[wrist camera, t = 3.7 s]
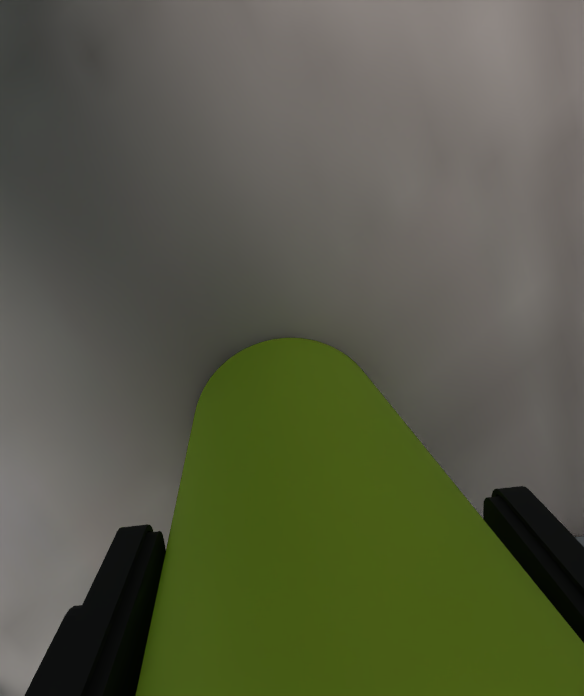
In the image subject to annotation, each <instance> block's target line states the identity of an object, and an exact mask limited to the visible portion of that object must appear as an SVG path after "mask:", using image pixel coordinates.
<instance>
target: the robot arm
mask: <svg viewBox="0 0 584 696" xmlns="http://www.w3.org/2000/svg"><path fill="white" fill-rule="evenodd" d="M483 520H484V521H485V522H486V523H487V525H488V526H489V527H490V528H491V529H492V531H493V532H494V533H495V534H496V536H497V537H498V538H499V539H500V541H501V542H502V543H503V544H504V545H505V547H506V548H507V549H508V550H509V552H510V553H511V554H512V555H513V557H514V558H515V559H516V560H517V561H518V563H519V564H520V565H521V566H522V568H523V569H524V570H525V571H526V573H527V574H528V575H529V576H530V578H531V579H532V580H533V581H534V582H535V584H536V585H537V586H538V587H539V589H540V590H541V591H542V592H543V594H544V595H545V596H546V597H547V598H548V600H549V601H550V602H551V603H552V605H553V606H554V607H555V608H556V610H557V611H558V612H559V613H560V614H561V616H562V617H563V618H564V619H565V621H566V622H567V623H568V624H569V626H570V627H571V628H572V629H573V630H574V632H575V633H576V634H577V635H578V637H579V638H580V639H581V640H582V642H583V643H584V547H583V546H582V544H581V543H580V542H579V541H578V540H577V539H576V538H575V537H574V536H573V535H572V534H571V533H570V532H569V531H568V530H567V529H566V528H565V527H564V526H563V525H562V524H561V523H560V522H559V521H558V519H557V518H556V517H555V516H554V515H553V514H552V513H551V512H550V511H549V510H548V509H547V508H546V507H545V506H544V505H543V504H542V503H541V502H540V501H539V500H538V499H537V498H536V497H535V496H534V495H533V493H532V492H531V491H530V490H529V489H527V488H526V487H523V486H521V487H511V488H501V489H495V490H494V491H493V493H492V497H488V498H486V499H485V500H484V518H483ZM165 553H166V550H165V544H164V538H163V534H162V532H161V531H158V532H153V529H152V527H151V526H150V525H141V526H131V527H122V528H119V530H118V531H117V533H116V535H115V537H114V540H113V542H112V544H111V546H110V548H109V550H108V552H107V554H106V556H105V559H104V561H103V563H102V565H101V567H100V569H99V571H98V573H97V575H96V577H95V580H94V582H93V584H92V586H91V588H90V590H89V592H88V594H87V596H86V599H85V601H84V603H83V605H80V606H74V607H72V608H71V609H69V611H68V612H67V614H66V615H65V617H64V619H63V621H62V623H61V625H60V627H59V629H58V631H57V633H56V634H55V636H54V638H53V640H52V642H51V644H50V646H49V648H48V650H47V652H46V654H45V656H44V658H43V660H42V662H41V664H40V666H39V668H38V670H37V672H36V674H35V676H34V678H33V680H32V682H31V684H30V686H29V688H28V690H27V692H26V694H25V696H136V691H137V686H138V681H139V677H140V672H141V667H142V662H143V658H144V653H145V648H146V643H147V639H148V634H149V629H150V624H151V620H152V615H153V610H154V605H155V601H156V596H157V591H158V586H159V582H160V577H161V572H162V567H163V563H164V558H165Z"/></svg>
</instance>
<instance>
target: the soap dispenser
mask: <svg viewBox="0 0 584 696" xmlns="http://www.w3.org/2000/svg"><path fill="white" fill-rule="evenodd" d="M136 696H584V643H583V642H582V640H581V639H580V638H579V637H578V635H577V634H576V633H575V632H574V630H573V629H572V628H571V627H570V626H569V624H568V623H567V622H566V621H565V619H564V618H563V617H562V616H561V614H560V613H559V612H558V611H557V610H556V608H555V607H554V606H553V605H552V603H551V602H550V601H549V600H548V598H547V597H546V596H545V595H544V594H543V592H542V591H541V590H540V589H539V587H538V586H537V585H536V584H535V582H534V581H533V580H532V579H531V578H530V576H529V575H528V574H527V573H526V571H525V570H524V569H523V568H522V566H521V565H520V564H519V563H518V561H517V560H516V559H515V558H514V557H513V555H512V554H511V553H510V552H509V550H508V549H507V548H506V547H505V545H504V544H503V543H502V542H501V541H500V539H499V538H498V537H497V536H496V534H495V533H494V532H493V531H492V529H491V528H490V527H489V526H488V525H487V523H486V522H485V521H484V520H483V518H482V517H481V516H480V515H479V513H478V512H477V511H476V510H475V509H474V507H473V506H472V505H471V504H470V502H469V501H468V500H467V499H466V497H465V496H464V495H463V494H462V493H461V491H460V490H459V489H458V488H457V486H456V485H455V484H454V483H453V481H452V480H451V479H450V478H449V476H448V475H447V474H446V473H445V472H444V470H443V469H442V468H441V467H440V465H439V464H438V463H437V462H436V460H435V459H434V458H433V457H432V456H431V454H430V453H429V452H428V451H427V449H426V448H425V447H424V446H423V444H422V443H421V442H420V441H419V440H418V438H417V437H416V436H415V435H414V433H413V432H412V431H411V430H410V428H409V427H408V426H407V425H406V424H405V422H404V421H403V420H402V419H401V417H400V416H399V415H398V414H397V412H396V411H395V410H394V409H393V407H392V406H391V405H390V404H389V403H388V401H387V400H386V399H385V398H384V396H383V395H382V394H381V393H380V391H379V390H378V389H377V388H376V387H375V385H374V384H373V383H372V382H371V380H370V379H369V378H368V377H367V375H366V374H365V373H364V372H363V371H362V369H361V368H360V367H359V366H358V365H357V364H356V363H355V362H354V361H353V360H352V359H350V358H349V357H348V356H347V355H345V354H344V353H342V352H341V351H339V350H337V349H335V348H333V347H331V346H329V345H327V344H324V343H321V342H318V341H314V340H309V339H302V338H280V339H273V340H268V341H264V342H261V343H258V344H255V345H252V346H250V347H248V348H246V349H244V350H242V351H240V352H239V353H237V354H235V355H234V356H232V357H231V358H230V359H228V360H227V361H226V362H225V363H224V364H223V365H222V366H221V367H220V368H219V369H218V370H217V371H216V372H215V373H214V374H213V375H212V377H211V378H210V380H209V381H208V382H207V384H206V386H205V387H204V389H203V391H202V393H201V396H200V398H199V401H198V403H197V407H196V411H195V415H194V420H193V425H192V430H191V434H190V439H189V444H188V449H187V453H186V458H185V463H184V468H183V472H182V477H181V482H180V487H179V491H178V496H177V501H176V506H175V510H174V515H173V520H172V525H171V529H170V534H169V539H168V544H167V548H166V553H165V558H164V563H163V567H162V572H161V577H160V582H159V586H158V591H157V596H156V601H155V605H154V610H153V615H152V620H151V624H150V629H149V634H148V639H147V643H146V648H145V653H144V658H143V662H142V667H141V672H140V677H139V681H138V686H137V691H136Z"/></svg>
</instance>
